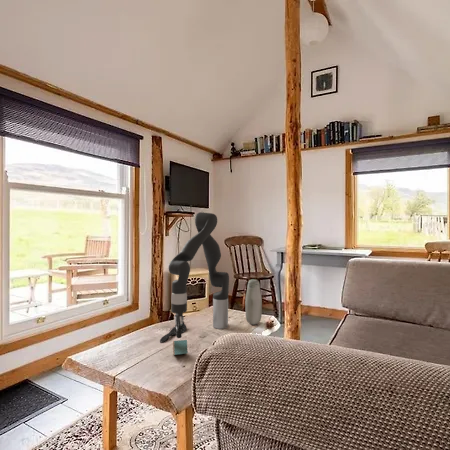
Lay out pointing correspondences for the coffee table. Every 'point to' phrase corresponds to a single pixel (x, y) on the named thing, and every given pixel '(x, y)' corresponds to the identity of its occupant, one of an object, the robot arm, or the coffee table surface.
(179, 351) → the two tone block
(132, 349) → the coffee table surface
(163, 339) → the hairbrush
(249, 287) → the grey green rounded cylinder
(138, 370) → the coffee table surface
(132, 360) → the coffee table surface
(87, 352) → the coffee table surface
